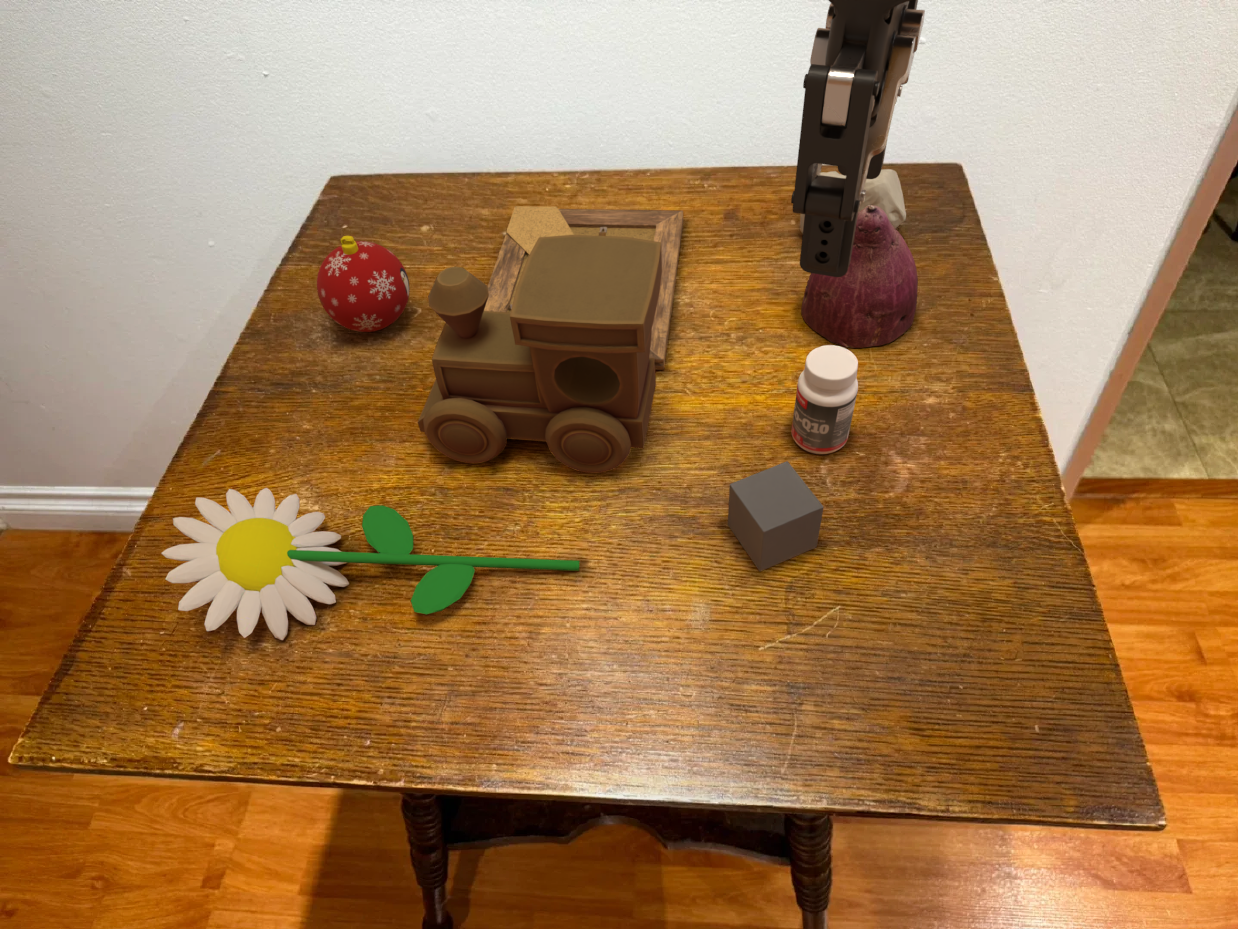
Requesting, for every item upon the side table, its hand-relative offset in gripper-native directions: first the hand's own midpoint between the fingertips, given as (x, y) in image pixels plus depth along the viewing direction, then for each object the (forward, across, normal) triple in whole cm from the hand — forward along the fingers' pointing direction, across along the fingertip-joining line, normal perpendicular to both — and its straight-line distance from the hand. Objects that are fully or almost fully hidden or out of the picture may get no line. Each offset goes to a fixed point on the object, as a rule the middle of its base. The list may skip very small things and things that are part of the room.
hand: (842, 219), depth 44 cm
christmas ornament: (+30, -16, -46) cm, 57 cm away
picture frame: (+30, -27, -28) cm, 49 cm away
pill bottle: (+30, -14, -1) cm, 33 cm away
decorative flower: (+30, +10, -29) cm, 43 cm away
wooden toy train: (+30, -8, -24) cm, 39 cm away
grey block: (+30, -2, -2) cm, 30 cm away
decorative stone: (+30, -45, -5) cm, 55 cm away
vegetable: (+30, -30, -1) cm, 43 cm away
